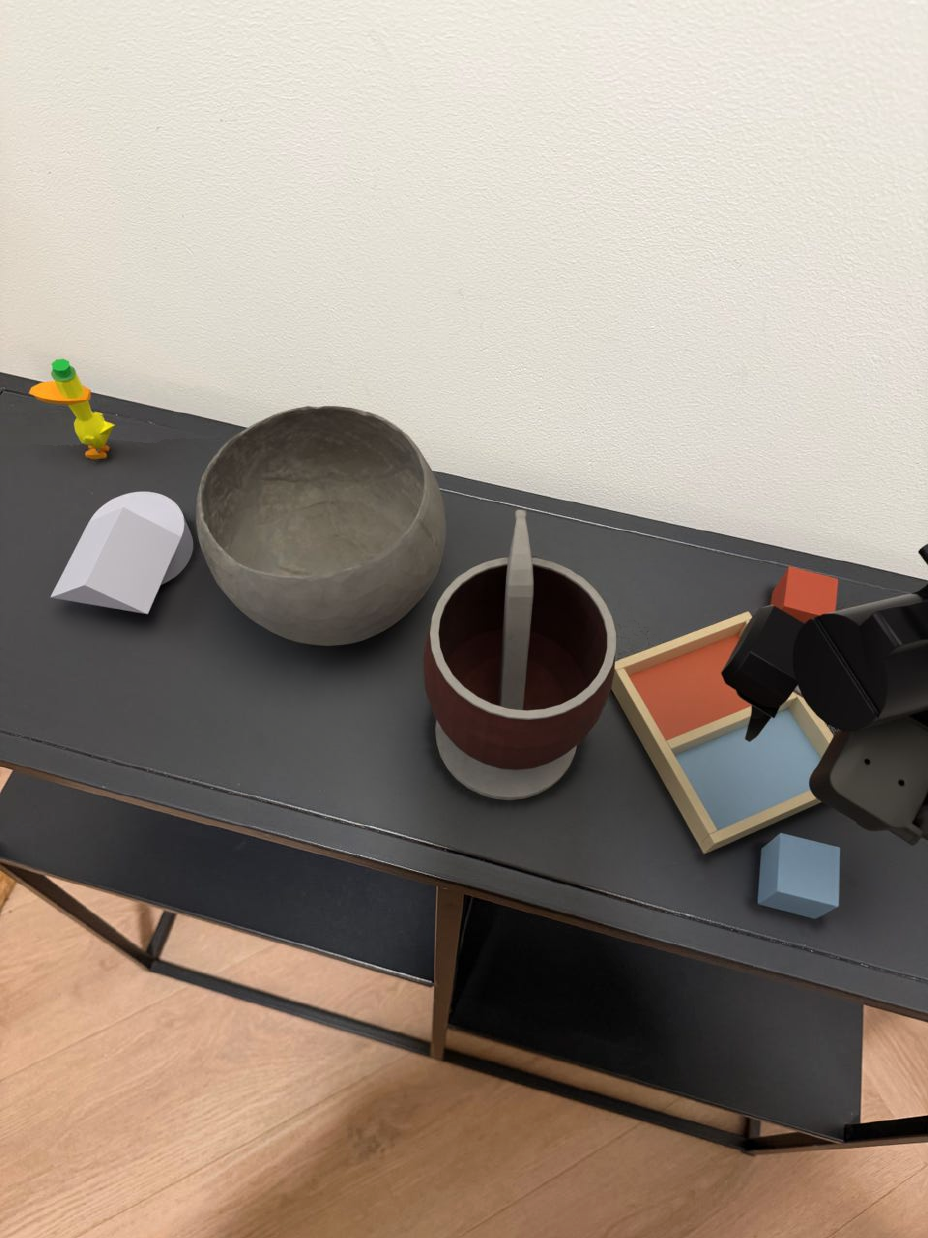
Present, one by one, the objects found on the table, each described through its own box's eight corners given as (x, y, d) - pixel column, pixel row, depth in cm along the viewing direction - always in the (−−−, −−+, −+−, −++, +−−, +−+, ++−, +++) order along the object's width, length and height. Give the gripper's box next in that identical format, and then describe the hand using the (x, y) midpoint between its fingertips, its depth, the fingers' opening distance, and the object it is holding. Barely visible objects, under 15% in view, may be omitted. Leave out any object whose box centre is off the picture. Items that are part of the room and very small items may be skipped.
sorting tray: (737, 628, 78) (748, 611, 75) (847, 790, 70) (863, 778, 68) (605, 678, 75) (611, 662, 72) (703, 854, 67) (714, 844, 64)
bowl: (469, 524, 83) (474, 416, 70) (411, 705, 73) (404, 618, 60) (275, 481, 86) (245, 369, 73) (192, 651, 75) (141, 555, 63)
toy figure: (59, 463, 86) (7, 374, 76) (69, 437, 88) (20, 347, 78) (124, 466, 86) (81, 378, 76) (133, 440, 88) (92, 351, 78)
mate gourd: (593, 809, 69) (644, 707, 52) (425, 810, 68) (419, 707, 51) (578, 644, 77) (618, 508, 60) (427, 644, 76) (423, 507, 59)
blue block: (817, 862, 67) (840, 847, 63) (815, 919, 65) (839, 907, 61) (761, 848, 68) (780, 832, 64) (757, 904, 65) (777, 891, 61)
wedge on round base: (158, 633, 76) (206, 521, 83) (135, 593, 71) (188, 476, 77) (65, 616, 77) (119, 506, 83) (34, 576, 71) (95, 461, 78)
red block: (819, 604, 80) (838, 578, 76) (815, 644, 77) (835, 619, 73) (772, 592, 80) (788, 565, 76) (766, 631, 78) (783, 605, 74)
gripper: (749, 667, 43) (643, 784, 56) (1100, 882, 39) (901, 954, 52) (816, 537, 49) (706, 670, 62) (1126, 715, 45) (942, 816, 58)
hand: (807, 773), depth 58 cm, fingers open, 9 cm apart
